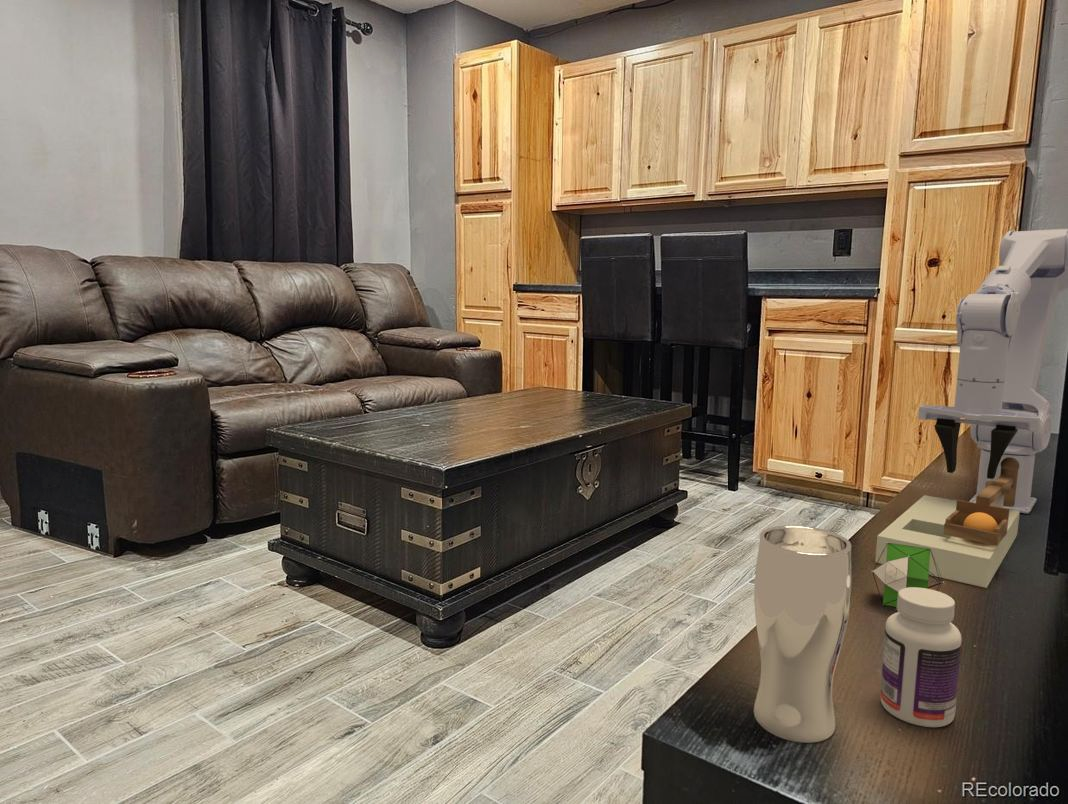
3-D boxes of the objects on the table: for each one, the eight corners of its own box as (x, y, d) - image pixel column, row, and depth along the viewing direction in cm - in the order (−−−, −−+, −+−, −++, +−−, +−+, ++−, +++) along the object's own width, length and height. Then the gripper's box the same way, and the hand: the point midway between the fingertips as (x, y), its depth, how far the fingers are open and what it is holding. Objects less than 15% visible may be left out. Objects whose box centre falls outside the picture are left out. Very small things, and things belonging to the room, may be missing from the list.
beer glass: (850, 753, 53) (865, 558, 50) (752, 741, 54) (762, 551, 52) (831, 700, 59) (843, 527, 57) (744, 691, 61) (752, 521, 58)
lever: (984, 499, 103) (989, 453, 102) (1031, 507, 99) (1036, 459, 98) (943, 536, 87) (948, 482, 86) (996, 547, 84) (1002, 491, 83)
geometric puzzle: (873, 564, 84) (875, 523, 78) (940, 574, 81) (946, 532, 75) (868, 618, 79) (869, 579, 74) (938, 631, 76) (945, 591, 71)
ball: (965, 534, 90) (967, 506, 89) (998, 540, 88) (1001, 512, 87) (959, 541, 87) (961, 513, 87) (993, 548, 85) (996, 519, 84)
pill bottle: (961, 708, 58) (972, 595, 57) (945, 738, 54) (957, 618, 53) (890, 684, 62) (899, 577, 60) (870, 711, 58) (879, 597, 57)
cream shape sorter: (922, 517, 108) (926, 471, 107) (1017, 535, 100) (1022, 485, 99) (875, 562, 90) (879, 507, 89) (986, 588, 82) (992, 527, 81)
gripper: (916, 378, 102) (908, 471, 104) (1039, 387, 92) (1028, 489, 94) (928, 374, 107) (920, 462, 109) (1046, 382, 98) (1035, 479, 100)
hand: (971, 474), depth 102 cm, fingers open, 4 cm apart
